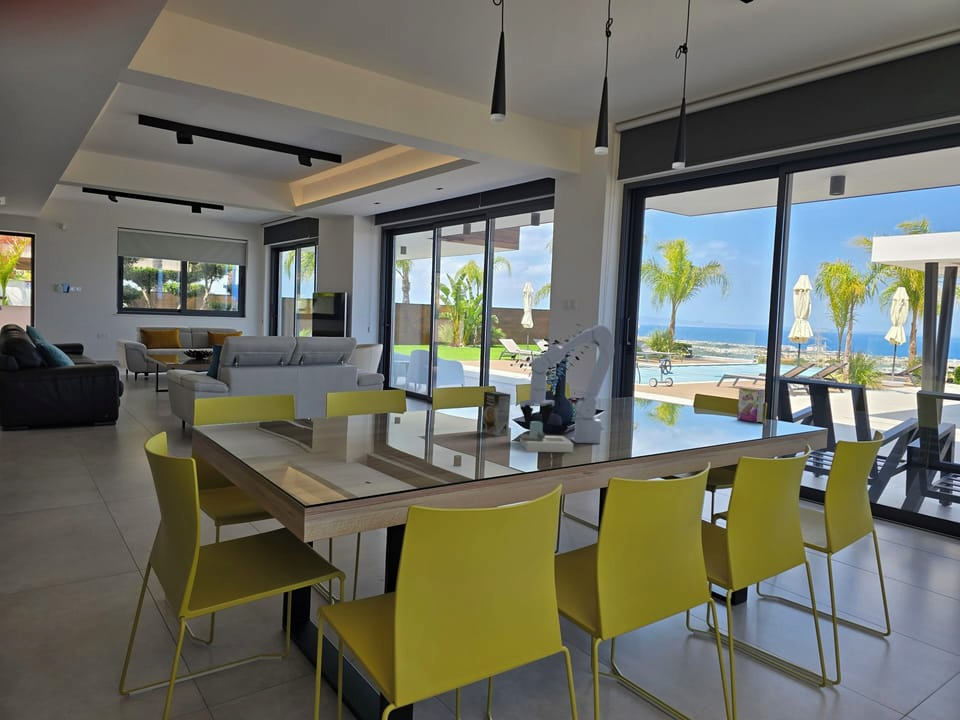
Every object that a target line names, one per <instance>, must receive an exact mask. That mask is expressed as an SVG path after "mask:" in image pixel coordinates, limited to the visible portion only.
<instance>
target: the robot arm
mask: <svg viewBox="0 0 960 720" xmlns="http://www.w3.org/2000/svg"><path fill="white" fill-rule="evenodd" d="M584 343H594V344H595V345H596V347H597V348H598V349H597V350H599V355H598V357H597V360H596V362H595V365H594V367H593V370H592V373H591V375H590V377H589V380H588V383H587V385H586V388H585V390H584V392H583V393H581V397H580V398H579V399H578V400H577V402H576V403H575V407H574V408H575V411H576V413H577V414H575V418H574V420H575V421H574V435H573V437H570V440H572V441H573V442H574V443H577V444H601V443H602V442H601V432H602V422H601V419H600V418H595V415H596V412H597V408H596V407H597V403H598V395H599V393H600V391H601V388H602V385H603V383H604V380H605V378H606V375H607V373H608V371H609V367H610V365H611V363H612V360H613V357H614V355H615V352H616V351H615V350H616V349H615V345H614V340H613V333H612V332H611V330H610V329H609V327H608V326H606V325H600V324H596V325H593V326H592V327H590V328H587V329H585V330H584V331H583V330H582V332H580V333H578V334H577V335H576V336H574V337H573V338H571V339H569V340H568V341H566V342H565V343H563V345H557V344H556V345H555V346H554V345H552V346H550V349H548V350H547V351H545V352H544V353H540V354H539V356H537V357H534V358H533V359H532V361H531V364H530V367H531V369H532V370H531V377H530V391H529V392H530V393H529V400H528V399H527V400H520V401H519V406H520V410H521V413H522V414H523V418H524V424H525V426H528V427H530V424H531V421H532V414H533V411H534V408H533V407H540V408H541V422H542V423H543V426H547V425H548V422H549V419H550V416H551V414H552V412H553V411H554V409H555V408H554V407H555V400H553V399H546V394H547V371H548V369H549V367H550V368H552V367H553V366H555V365H556V364H558V363H559V362H561V361H562V360H564V359H565V358H566V355H567V353H569V352H570V351H572V350H574V349H576V348H577V347H579V346H581V345H583V344H584Z"/></svg>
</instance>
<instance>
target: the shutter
mask: <svg viewBox="0 0 960 720" xmlns="http://www.w3.org/2000/svg"><path fill="white" fill-rule="evenodd" d="M545 436H546V434H545V433H544V431H542V432H541V431H538V434H537V435H530V433H529V434H527V433H526V434H525V433H524V434H523V433H522V434H521V433H520V434H519V439H520V438H521V439H522V440H526V441H543V439H545Z"/></svg>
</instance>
